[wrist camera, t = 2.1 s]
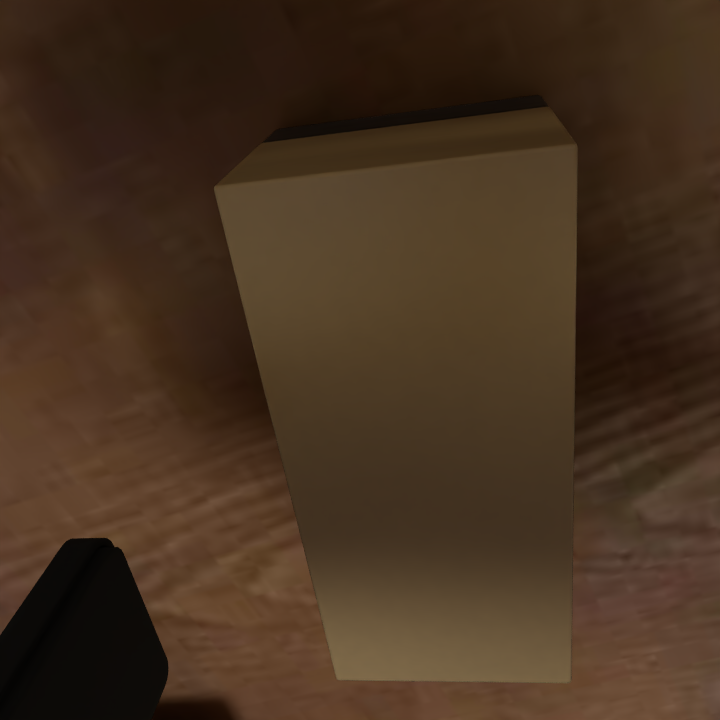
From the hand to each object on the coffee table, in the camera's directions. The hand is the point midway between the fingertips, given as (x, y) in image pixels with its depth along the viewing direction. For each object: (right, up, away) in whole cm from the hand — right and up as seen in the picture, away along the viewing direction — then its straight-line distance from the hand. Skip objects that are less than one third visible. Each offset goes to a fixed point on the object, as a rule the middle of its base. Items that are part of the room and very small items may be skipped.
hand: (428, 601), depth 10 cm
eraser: (+1, +3, +5) cm, 6 cm away
